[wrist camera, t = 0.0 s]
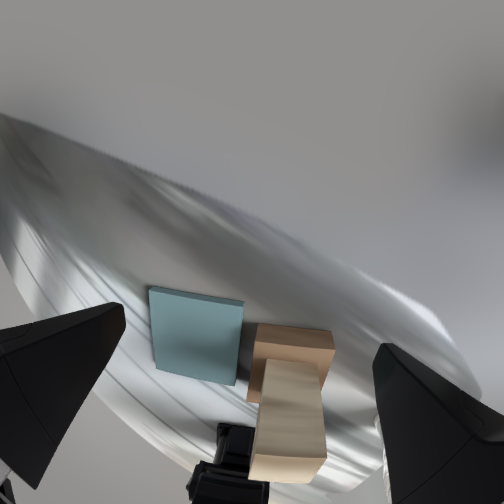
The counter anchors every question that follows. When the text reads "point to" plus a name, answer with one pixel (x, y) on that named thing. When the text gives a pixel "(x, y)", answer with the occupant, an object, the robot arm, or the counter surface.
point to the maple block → (289, 424)
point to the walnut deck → (288, 352)
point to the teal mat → (196, 334)
